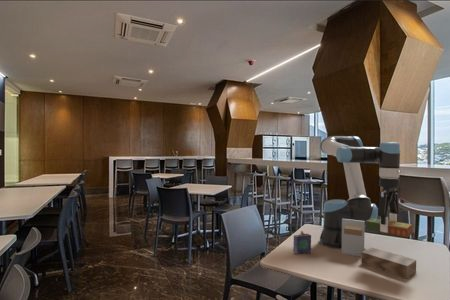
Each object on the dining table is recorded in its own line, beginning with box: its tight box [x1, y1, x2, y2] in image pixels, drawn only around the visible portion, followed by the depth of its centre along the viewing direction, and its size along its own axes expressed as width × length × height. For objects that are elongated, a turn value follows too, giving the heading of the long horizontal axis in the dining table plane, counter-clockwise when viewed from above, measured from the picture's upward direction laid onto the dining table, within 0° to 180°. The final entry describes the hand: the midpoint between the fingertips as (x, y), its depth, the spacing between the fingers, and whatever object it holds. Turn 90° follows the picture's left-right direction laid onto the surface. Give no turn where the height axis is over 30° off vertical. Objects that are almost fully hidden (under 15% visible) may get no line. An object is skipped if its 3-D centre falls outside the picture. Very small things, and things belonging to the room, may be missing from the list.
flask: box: [292, 230, 312, 256], centre depth 133 cm, size 9×3×11 cm, turn 105°
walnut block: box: [360, 247, 417, 279], centre depth 118 cm, size 18×10×5 cm, turn 38°
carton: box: [365, 218, 413, 238], centre depth 118 cm, size 8×16×4 cm, turn 45°
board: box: [340, 219, 366, 258], centre depth 133 cm, size 5×10×16 cm, turn 64°
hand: (388, 230), depth 118 cm, fingers closed on carton, 9 cm apart
